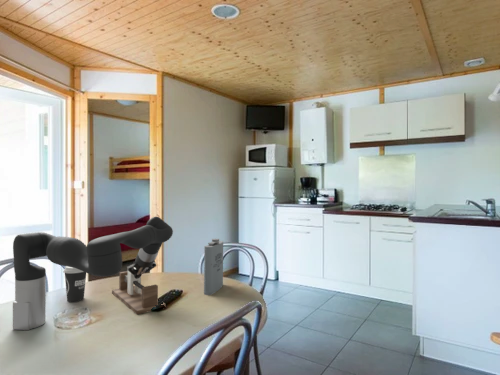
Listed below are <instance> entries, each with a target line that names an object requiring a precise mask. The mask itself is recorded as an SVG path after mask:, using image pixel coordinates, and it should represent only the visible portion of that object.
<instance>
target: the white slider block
mask: <svg viewBox="0 0 500 375" xmlns="http://www.w3.org/2000/svg"><path fill="white" fill-rule="evenodd" d="M134 269H136V268H135V267H134ZM127 271H128V270H127ZM133 281H137V282H138V283H140V284H141V285H142V276H141V277H140V278H138V279H136V278H135V277H134V275H133V274H132V273H131V272H129V271H128V287H127V293H128V294H130V295H133V286H135V292H137V293H138V294H139V293H141V289H140V288H139V287H137V286H136V285H134V284H133Z"/></svg>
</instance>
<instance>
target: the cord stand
mask: <svg viewBox="0 0 500 375" xmlns="http://www.w3.org/2000/svg"><path fill="white" fill-rule="evenodd" d="M118 274H119V275H118V276H119V280H118V282H119V283H118V285H119V286H118V288H115V289H111V293H112V294H113V296H115V297H116V298H117V299H118V300H119V301H120V302H121V303H123V304H124V305H125V306H126V307H127V308H128V309H130V310H131V311H132V312H134V313H135V314H136V315H141V314H146V313H149V312H152V311H151V309H152V308H153V307H156V306H155V305H158V299H159V285H157V284H151V285H146V286H144V285H143V284H142V283H141V284H140V283H138V282H137V281H133V295H130V294H128V293H127V287H128V270H126V271H119V272H118ZM135 285H136V286H137V287H139V288H140V289H141V293H139V294H138V293H137V292H135ZM161 305H164V306H165V307H166V303H165V302H163V304H161Z"/></svg>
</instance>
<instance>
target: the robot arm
mask: <svg viewBox="0 0 500 375" xmlns="http://www.w3.org/2000/svg"><path fill="white" fill-rule="evenodd" d="M173 233H174V230H173V228H172V226H170V225H169V224H168V223H167V222H165V221H164V220H163V218H160V217H159V216H153V217H151V218H150V219H148V220H147V222H146V225H142V226H140V227H138V228H136V229H132V230H129V231H122V232H117V233H114V234H113V233H112V234H108V235H104V236H100V237H97V238H94V239H91V240H90V241H89V242H88V243H87V244H85V243H84V242H83V241H82V240H80V239H78V238H74V237H69V236H56V235H53V234H50V233H47V232H43V231H41V232H39V231H38V232H31V233H30V232H29V233H21V234H17V235H15V237H14V238H13V239H14V240H13V242H12V252H13V253H12V255H13V271H14V292H15V293H14V301H13V302H12V330H17V331H19V330H20V331H23V330H24V331H30V330H32V329H35V328H39V327H41V326H43V325H44V324H45V323H46V303H47V302H46V296H47V295H46V291H47V290H46V289H47V288H46V286H47V285H46V283H47V282H46V280H47V277H46V276H47V275H46V273H47V271H46V268H45V267H44V266H40V265H39V266H38V265H33V264H31V262H30V260H32V259H36V258H37V259H38V258H43V257H47V259H48V261H49V262H51V263H52V264H55V265H59V266H62V267H63V266H64V267H66V266H68V267H73V268H76V269H79V270H81V271H84V272H86V274H88V275H92V276H95V277H111V276H114V275H116V274H119V272H121V270H122V268H123V255H122V254H123V253H122V245H124V246H127V247H129V248H132V249H137V250H138V249H139V251H138V252H137V254H136V255H135V256H136V257H135V261H133V263H132V264H127V265H126V268H127V271H129V272H131V273H132V274H133V275H134V277H135V278H136V279H138V278H140V277H141V278H142V275H143V274H144V273H145V274H146V273H148V272H150V271H152V270H153V269H155V268H156V267H157V263H156V259H157V256H158V254H159V251H160V249H161V247H162V245H163V243H166V242H168V241H169V240H170V239H171V238H172V236H173ZM121 244H122V245H121ZM134 268H136V269H134Z"/></svg>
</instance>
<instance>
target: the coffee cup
mask: <svg viewBox="0 0 500 375" xmlns="http://www.w3.org/2000/svg"><path fill="white" fill-rule="evenodd" d="M64 267H65V268H64V269H63V273H64V279H65V281H64V282H65V291H66V301H67V302H68V303H76V302H80V301H84V299H85V290H86V279H87V273H86V272H84V271H81V270H79V269H76V268H73V267H68V266H64Z"/></svg>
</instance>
